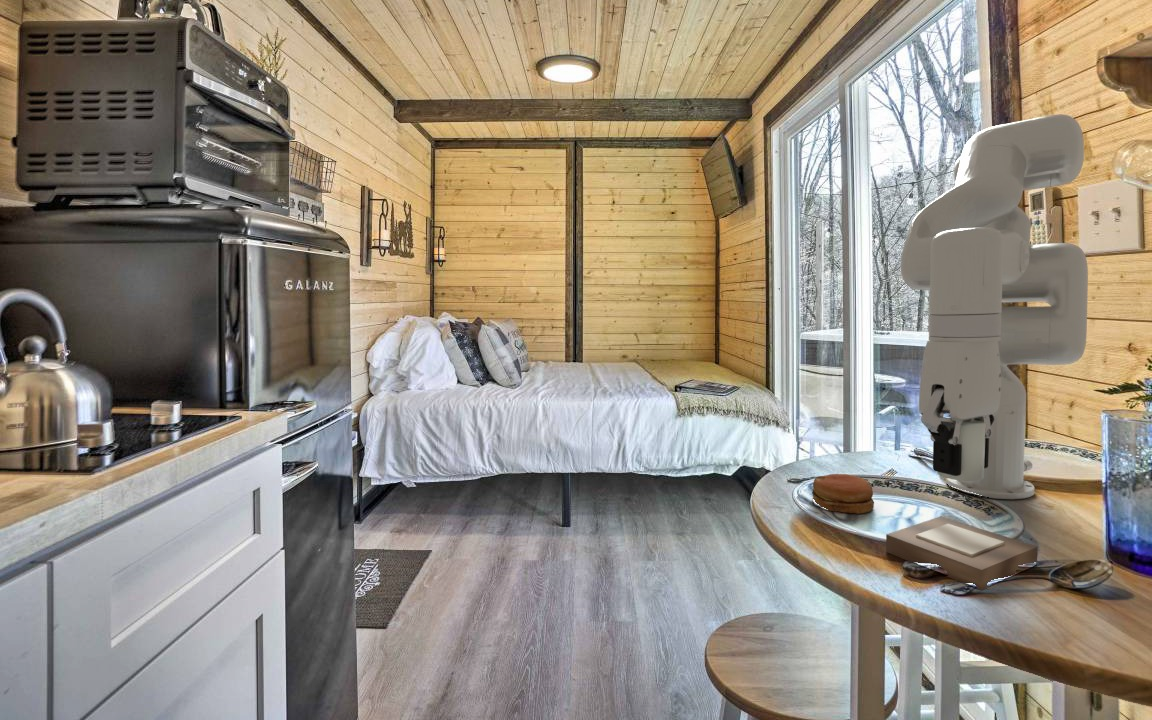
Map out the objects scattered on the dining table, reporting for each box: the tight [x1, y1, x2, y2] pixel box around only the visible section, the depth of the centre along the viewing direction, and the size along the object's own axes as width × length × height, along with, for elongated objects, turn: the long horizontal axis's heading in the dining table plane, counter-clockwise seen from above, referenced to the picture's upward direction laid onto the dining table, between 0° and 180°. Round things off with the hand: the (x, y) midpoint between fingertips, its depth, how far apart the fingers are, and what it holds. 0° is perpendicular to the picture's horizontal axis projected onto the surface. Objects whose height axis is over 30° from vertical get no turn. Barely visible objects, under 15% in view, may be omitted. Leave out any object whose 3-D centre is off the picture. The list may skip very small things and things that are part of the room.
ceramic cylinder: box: [936, 419, 986, 481], centre depth 73 cm, size 5×5×7 cm
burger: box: [811, 473, 875, 515], centre depth 95 cm, size 10×9×5 cm
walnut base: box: [885, 515, 1038, 591], centre depth 74 cm, size 12×12×3 cm
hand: (960, 468), depth 73 cm, fingers closed on ceramic cylinder, 5 cm apart
